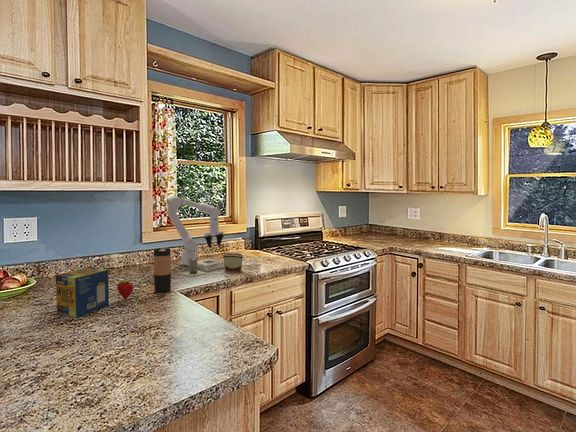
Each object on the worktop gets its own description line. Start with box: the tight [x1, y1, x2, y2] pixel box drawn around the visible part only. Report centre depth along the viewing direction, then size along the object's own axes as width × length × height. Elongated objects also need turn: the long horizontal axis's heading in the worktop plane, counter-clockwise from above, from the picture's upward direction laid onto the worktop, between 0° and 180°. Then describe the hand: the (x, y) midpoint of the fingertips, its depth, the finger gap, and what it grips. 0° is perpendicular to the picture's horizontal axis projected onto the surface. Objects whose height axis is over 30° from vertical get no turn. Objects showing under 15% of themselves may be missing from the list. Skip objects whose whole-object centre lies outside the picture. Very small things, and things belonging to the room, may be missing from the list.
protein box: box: [55, 266, 110, 319], centre depth 140 cm, size 10×15×16 cm
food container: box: [222, 252, 245, 273], centre depth 208 cm, size 12×6×10 cm, turn 83°
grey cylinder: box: [188, 257, 198, 274], centre depth 200 cm, size 4×4×8 cm
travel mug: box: [153, 247, 172, 294], centre depth 166 cm, size 8×8×20 cm
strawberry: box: [116, 278, 134, 300], centre depth 154 cm, size 6×8×10 cm
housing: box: [197, 258, 225, 273], centre depth 215 cm, size 14×14×4 cm
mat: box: [180, 270, 207, 278], centre depth 200 cm, size 10×10×1 cm
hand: (214, 246), depth 229 cm, fingers open, 7 cm apart
